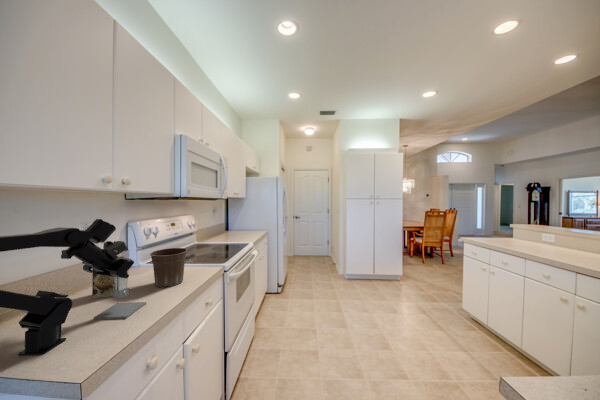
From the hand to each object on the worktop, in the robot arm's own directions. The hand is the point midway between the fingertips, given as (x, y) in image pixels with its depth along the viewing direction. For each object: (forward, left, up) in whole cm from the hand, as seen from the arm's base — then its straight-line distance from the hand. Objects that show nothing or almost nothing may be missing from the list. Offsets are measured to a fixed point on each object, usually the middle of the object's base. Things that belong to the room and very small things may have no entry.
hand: (125, 276), depth 84 cm
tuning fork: (-1, +1, -7) cm, 7 cm away
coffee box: (+15, +18, -13) cm, 26 cm away
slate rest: (-1, +1, -13) cm, 13 cm away
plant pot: (+27, -2, -13) cm, 30 cm away
